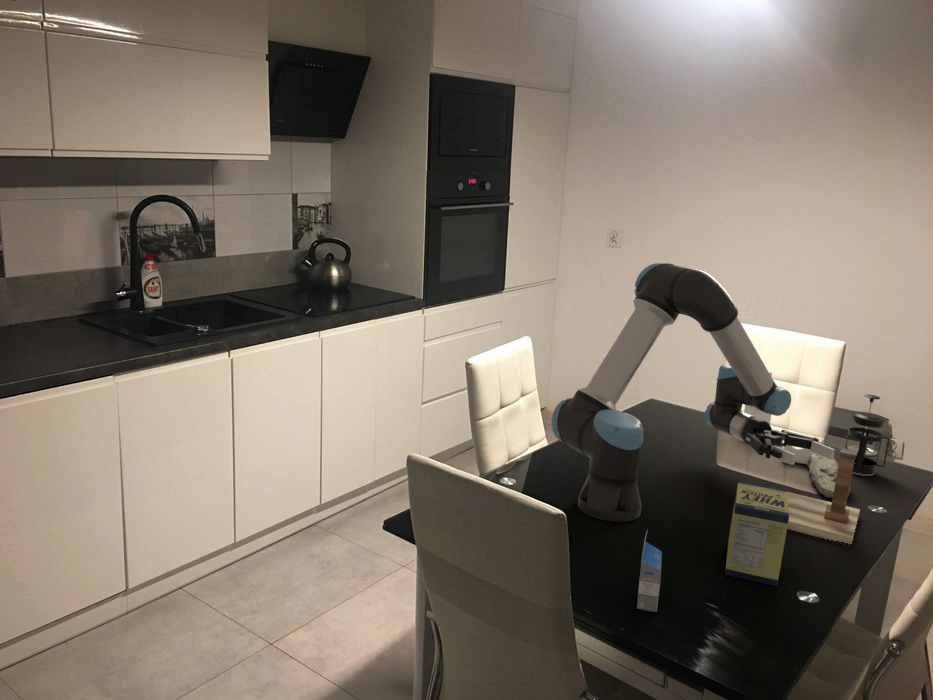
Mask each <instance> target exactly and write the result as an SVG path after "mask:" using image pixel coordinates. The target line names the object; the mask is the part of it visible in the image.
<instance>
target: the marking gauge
mask: <svg viewBox="0 0 933 700" xmlns="http://www.w3.org/2000/svg"><path fill="white" fill-rule="evenodd" d="M856 455H857V451H853V450H848V449H847V448H846V449H845V448H844V447H843V448H841V449H840V451H839V462H838V464H839V467H838V472H837V478H836V483H835V488H834V494H833V498H831V503H832V505H829V504H828V505H827V508H826V511H825V516H824V519H828V520H832V521H836V522H840V523H843V524H847V521H848V518H849V512H850V510H849V509H845V508H846V506H847V502H848V497H849V496H848V492H849V487H850V486H851V480H852V479H851V476H852V477H853V474H852V471H853V466H854V461H855V458H856ZM849 493H850V492H849Z"/></svg>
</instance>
